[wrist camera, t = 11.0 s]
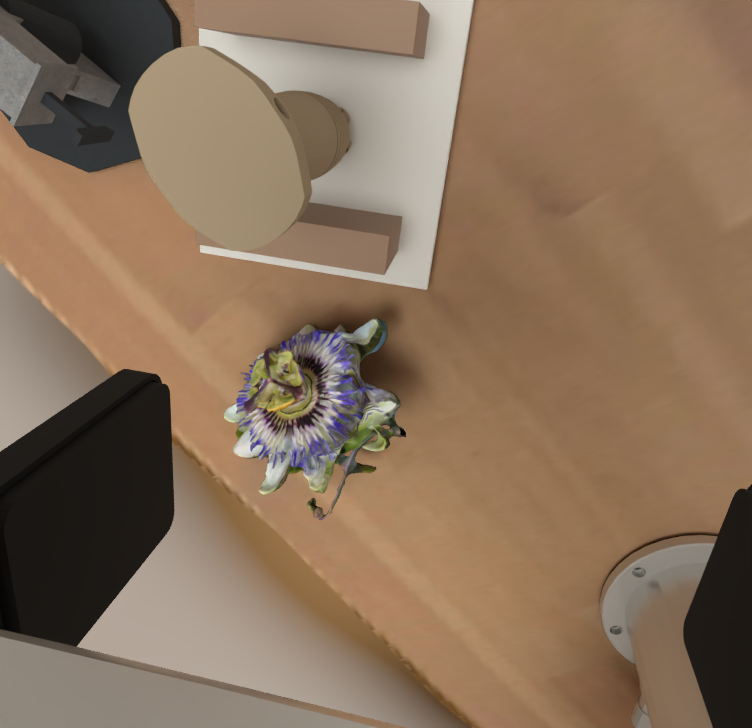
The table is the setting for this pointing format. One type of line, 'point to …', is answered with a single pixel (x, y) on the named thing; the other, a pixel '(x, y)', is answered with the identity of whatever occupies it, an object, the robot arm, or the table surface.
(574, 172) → the table surface
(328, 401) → the passion flower
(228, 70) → the handle
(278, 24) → the white base with blocks
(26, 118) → the gun turret
